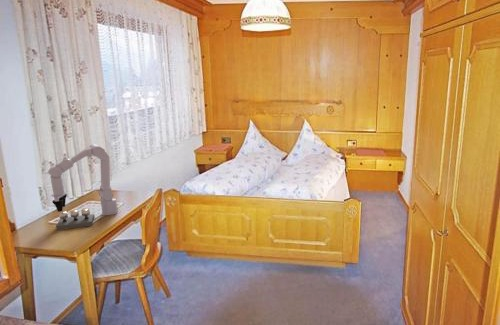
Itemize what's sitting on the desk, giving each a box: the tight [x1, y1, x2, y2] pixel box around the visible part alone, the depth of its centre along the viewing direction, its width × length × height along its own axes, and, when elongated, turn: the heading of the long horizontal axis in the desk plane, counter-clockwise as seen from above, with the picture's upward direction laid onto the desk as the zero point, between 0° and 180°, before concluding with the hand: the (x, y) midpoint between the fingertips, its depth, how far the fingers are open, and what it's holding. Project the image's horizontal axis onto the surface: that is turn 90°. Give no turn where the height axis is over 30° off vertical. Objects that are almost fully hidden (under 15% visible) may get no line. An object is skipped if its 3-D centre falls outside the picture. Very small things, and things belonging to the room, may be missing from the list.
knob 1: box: [58, 210, 69, 222], centre depth 219 cm, size 4×4×6 cm
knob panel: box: [55, 213, 95, 231], centre depth 221 cm, size 19×12×2 cm, turn 105°
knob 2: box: [80, 207, 91, 219], centre depth 222 cm, size 4×4×6 cm
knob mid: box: [69, 209, 80, 221], centre depth 220 cm, size 4×4×6 cm
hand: (61, 209), depth 220 cm, fingers open, 7 cm apart
